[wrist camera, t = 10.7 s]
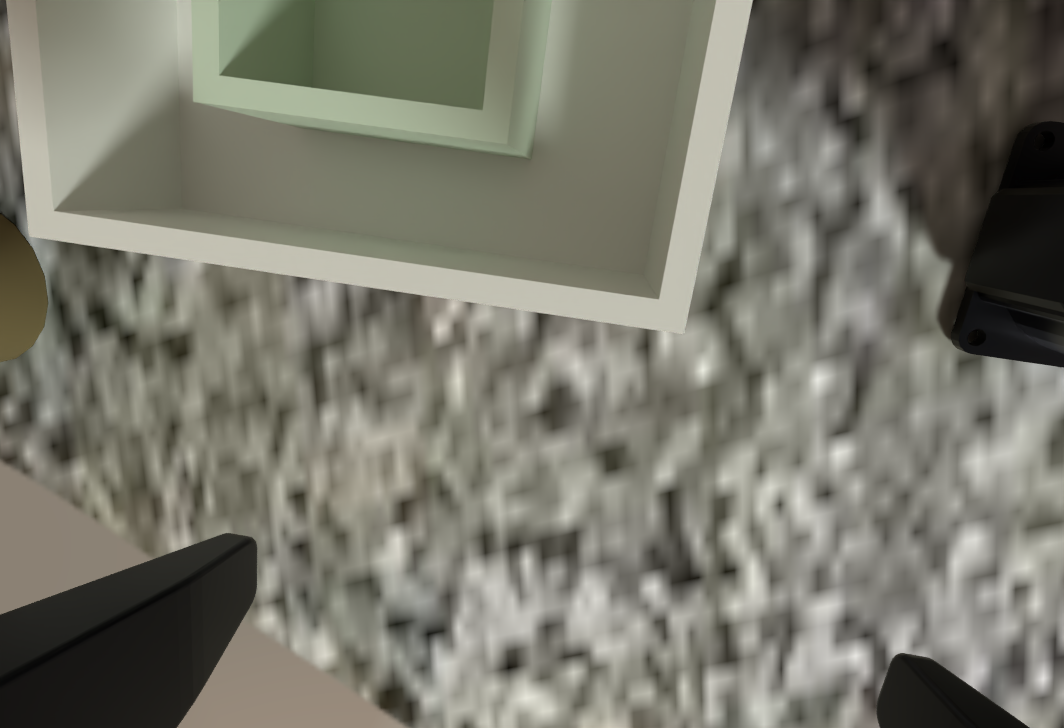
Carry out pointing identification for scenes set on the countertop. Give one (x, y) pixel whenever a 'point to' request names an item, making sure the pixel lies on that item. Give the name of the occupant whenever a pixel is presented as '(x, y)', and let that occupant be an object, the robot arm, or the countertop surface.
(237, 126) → the white open box
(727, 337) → the countertop surface
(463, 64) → the sage crate
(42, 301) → the olive pepper shaker
